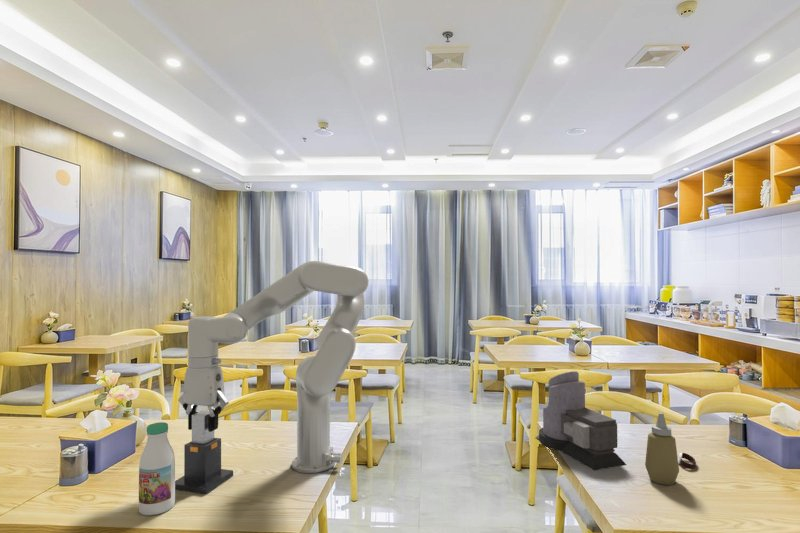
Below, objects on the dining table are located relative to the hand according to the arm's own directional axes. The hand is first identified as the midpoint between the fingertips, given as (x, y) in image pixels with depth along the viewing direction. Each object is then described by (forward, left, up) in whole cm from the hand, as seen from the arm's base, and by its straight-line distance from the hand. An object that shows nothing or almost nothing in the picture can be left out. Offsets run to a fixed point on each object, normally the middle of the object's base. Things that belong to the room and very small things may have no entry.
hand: (203, 428), depth 123 cm
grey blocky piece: (-100, -50, -15) cm, 113 cm away
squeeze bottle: (-120, -32, -15) cm, 125 cm away
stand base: (0, 0, -15) cm, 15 cm away
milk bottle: (+2, +14, -15) cm, 21 cm away
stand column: (0, 0, -13) cm, 13 cm away
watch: (-130, -45, -15) cm, 138 cm away
